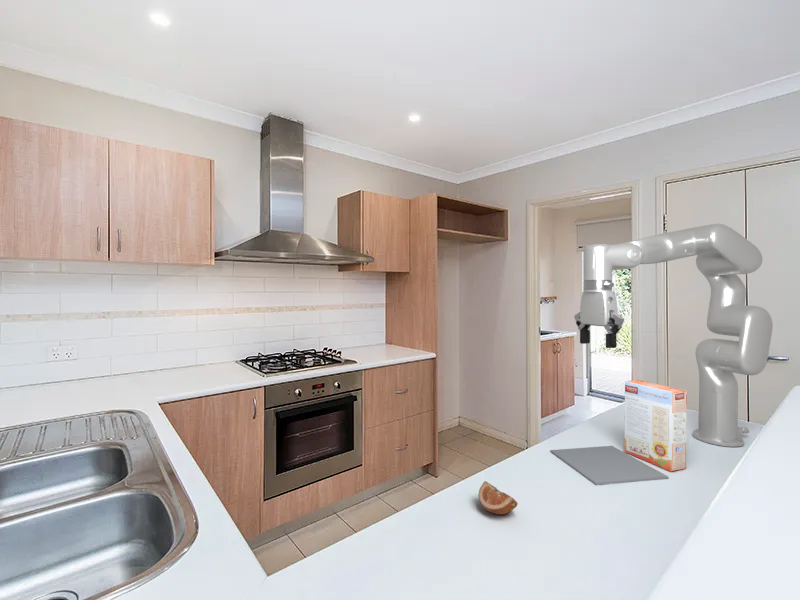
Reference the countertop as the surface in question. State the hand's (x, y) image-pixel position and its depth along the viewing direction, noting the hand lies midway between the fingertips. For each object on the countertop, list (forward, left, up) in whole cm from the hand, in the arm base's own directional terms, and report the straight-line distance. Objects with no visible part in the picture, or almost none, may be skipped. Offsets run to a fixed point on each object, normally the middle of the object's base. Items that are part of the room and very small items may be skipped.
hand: (597, 345), depth 115 cm
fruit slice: (+42, +26, -31) cm, 58 cm away
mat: (+4, +9, -31) cm, 32 cm away
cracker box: (-11, +9, -31) cm, 34 cm away
